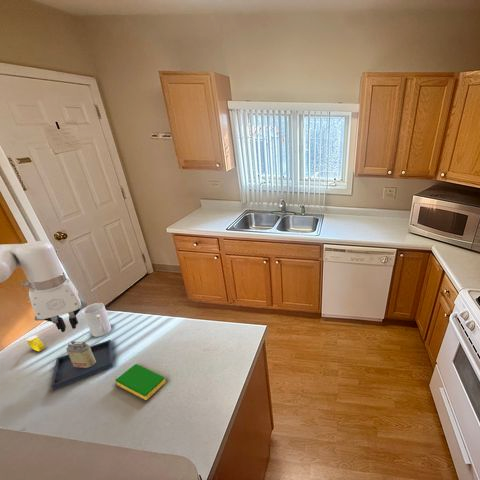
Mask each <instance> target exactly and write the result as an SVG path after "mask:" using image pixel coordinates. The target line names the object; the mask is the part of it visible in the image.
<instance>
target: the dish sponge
mask: <svg viewBox="0 0 480 480" xmlns="http://www.w3.org/2000/svg"><path fill="white" fill-rule="evenodd" d="M115 382H116V385H117V386H118V387H120V388H122V389H124V390H125V391H127V392H129V393H131V394H133V395H135V396H137V397H138V398H141V399H143V400H145V401H147V400H149V399H150V398H151V397H152V396H153V395H154V394H155V393H156V392H157V391H158V390H159V389H161V387H162V386H163V385H165V383H166V379H165V376H163V375H161V374H158V373H157V372H155V371H152V370H150V369H149V368H146V367H144V366H142V365H140V364H138V363H135V364H133V365H132V366H131V367H130V368H128V369H127V370H126V371H125V372H123V373H122V374H121V375H119V376H118V377H117V378H115Z"/></svg>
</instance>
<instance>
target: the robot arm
mask: <svg viewBox="0 0 480 480" xmlns="http://www.w3.org/2000/svg"><path fill="white" fill-rule="evenodd" d="M18 268H21V270H22V271H23V273H24V276H25V277H26V281H24V282H21V286H22V287H23V288H25V287H28V288H29V290H28V297H29V300H30V304H31V308H32V310H33V312H34V321H36V322H37V321H46V322H51V323H52V324H55V327H56V328H57V330H58V331H59V330H60V332H61V333H64V332H66V329H67V325H66V323H65V321H64V319H63V317H62V315H64V314H65V315H66V314H68V316H69V317H68V322H69V324H70V326H71V329H73V330H74V329H76V328H77V325H78V324H79V320H78V318H77V315H78V314H79V312H80V311H82V310H83V309H84V308H85V307H87V306H88V303H87V302H86V301H84V300H83V299H82V297H81V295H80V293H79V291H78V289H77V288H76V286H75V284H74V283H73V282H72V281H71V279H70V278H67V276H66V275H65V272H64V270H63V267H62V264H61V262H60V260H59V257H58V255H57V252H56V250H55V247H54V244H52V243H51V242H50V241H47V240H35V241H29V242H25V243H9V244H8V243H7V244H6V243H5V244H0V284H1V283H4V282H5V281H6V280H9V278H10V277H11V276H12V275H13V273H14V271H15V270H16V269H18Z"/></svg>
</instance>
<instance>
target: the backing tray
mask: <svg viewBox="0 0 480 480" xmlns="http://www.w3.org/2000/svg"><path fill="white" fill-rule="evenodd" d="M89 347H90V348H91V351H92V353H93V356H94V358H95V360H96V363H95V364H94V365H93V366H91V367H89V368H80V367H74V366H73V363H72V361H71V359H70V357H69V355H68V353H67V354H65V355H62V356H59V357H56V359H55V360H56V361H55V364H54V369H53V370H54V371H53V375H52V380H51V381H52V382H51V387H52V389H53V391H55V390H58V389H60V388H62V387H66V386H68V385H70V384H73V383H76V382H78V381H80V380H83V379H85V378H88V377H91V376H93V375H95V374H99V373H101V372H103V371H106V370H108V369H111V368H113V366H114V362H113V343H112V340H111V339H108V340H105V341H103V342H99V343H97V344H94V345H90V346H89Z"/></svg>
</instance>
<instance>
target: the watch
mask: <svg viewBox="0 0 480 480" xmlns="http://www.w3.org/2000/svg"><path fill="white" fill-rule="evenodd" d="M26 342H27V344H28V346H29V347H30V348H31V349H32V350H33V351H36V352H41V351H43V350H44V349H45V345H44V343H43V342H42V341H41V340H40V339H39V336H38V335H37V334H33V335H31V336H29V337H27V338H26Z"/></svg>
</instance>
